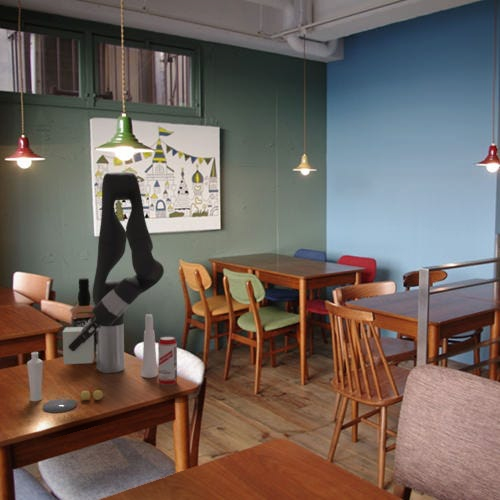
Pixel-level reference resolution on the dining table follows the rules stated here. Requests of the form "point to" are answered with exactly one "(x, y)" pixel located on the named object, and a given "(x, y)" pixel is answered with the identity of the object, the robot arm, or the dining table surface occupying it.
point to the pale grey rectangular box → (83, 351)
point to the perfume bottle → (35, 377)
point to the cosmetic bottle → (149, 350)
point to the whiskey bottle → (83, 310)
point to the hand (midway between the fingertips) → (72, 346)
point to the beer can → (167, 360)
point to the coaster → (59, 405)
